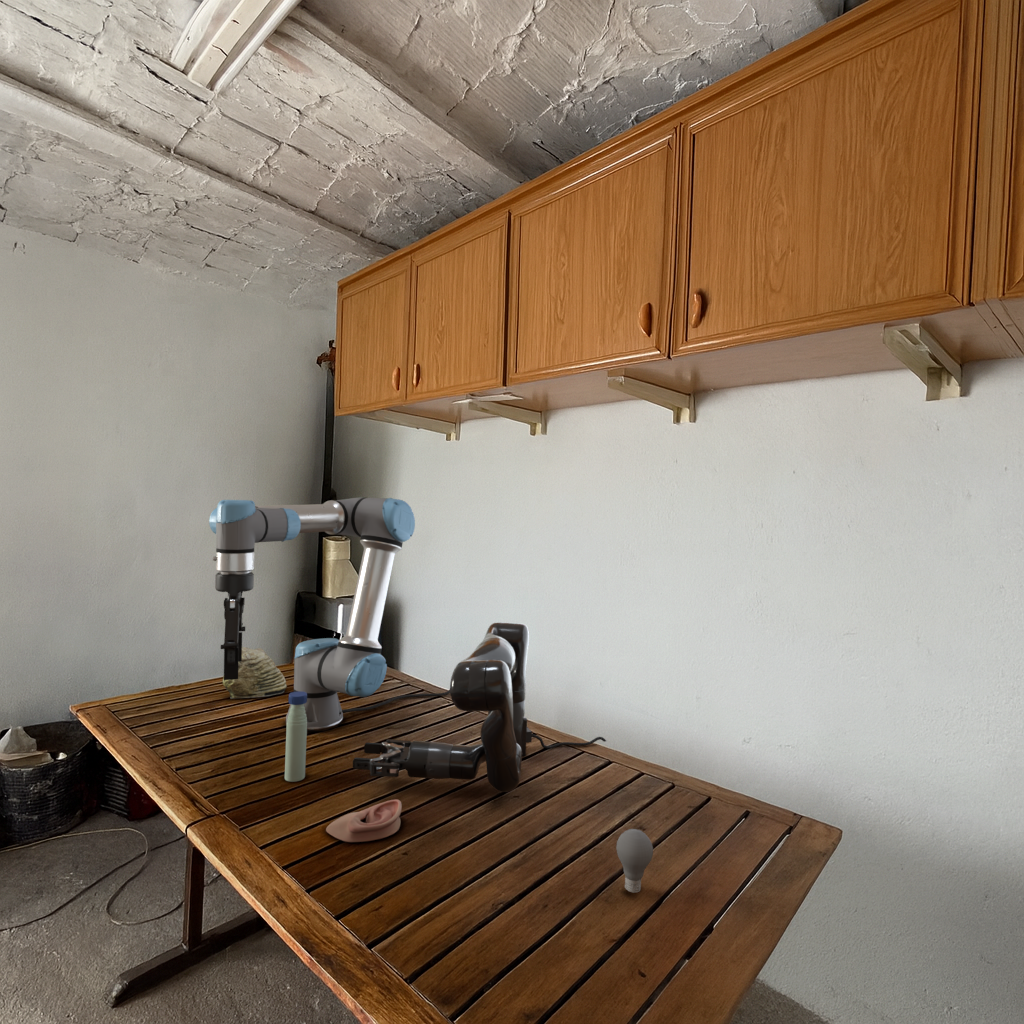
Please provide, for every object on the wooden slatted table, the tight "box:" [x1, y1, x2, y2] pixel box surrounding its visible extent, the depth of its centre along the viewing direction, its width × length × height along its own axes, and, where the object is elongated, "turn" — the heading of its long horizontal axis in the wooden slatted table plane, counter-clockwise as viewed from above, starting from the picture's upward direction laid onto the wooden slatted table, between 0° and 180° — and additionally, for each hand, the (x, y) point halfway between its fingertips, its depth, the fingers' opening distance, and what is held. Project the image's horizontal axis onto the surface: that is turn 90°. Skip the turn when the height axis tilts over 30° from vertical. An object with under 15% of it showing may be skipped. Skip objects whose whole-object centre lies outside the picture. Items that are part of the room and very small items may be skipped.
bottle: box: [284, 704, 308, 783], centre depth 142 cm, size 4×4×18 cm
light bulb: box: [615, 828, 654, 894], centre depth 106 cm, size 6×6×10 cm
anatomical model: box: [325, 799, 403, 843], centre depth 122 cm, size 13×4×12 cm
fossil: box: [222, 646, 288, 699], centre depth 198 cm, size 9×18×15 cm, turn 132°
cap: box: [288, 691, 307, 705], centre depth 142 cm, size 4×4×2 cm
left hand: (233, 670), depth 136 cm, fingers open, 13 cm apart
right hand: (359, 755), depth 141 cm, fingers open, 8 cm apart
